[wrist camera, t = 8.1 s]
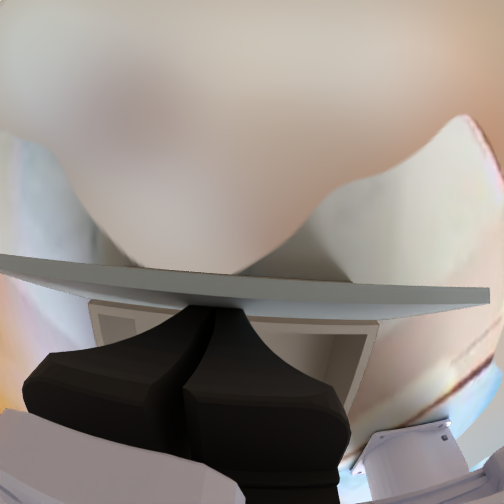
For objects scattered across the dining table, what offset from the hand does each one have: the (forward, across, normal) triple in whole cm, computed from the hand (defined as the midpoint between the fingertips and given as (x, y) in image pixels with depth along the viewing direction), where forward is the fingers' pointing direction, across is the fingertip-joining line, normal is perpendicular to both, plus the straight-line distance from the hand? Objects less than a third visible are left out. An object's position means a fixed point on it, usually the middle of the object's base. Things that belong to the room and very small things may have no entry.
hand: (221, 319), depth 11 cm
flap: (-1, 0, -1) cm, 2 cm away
